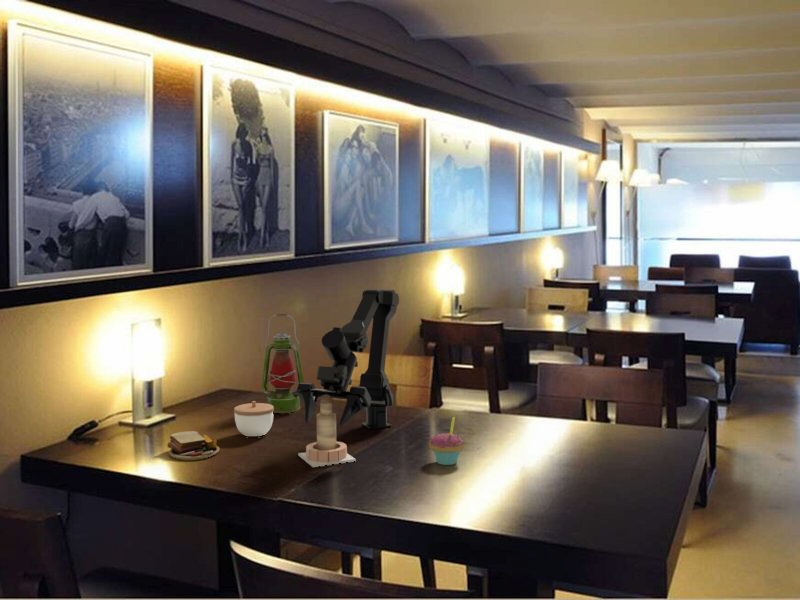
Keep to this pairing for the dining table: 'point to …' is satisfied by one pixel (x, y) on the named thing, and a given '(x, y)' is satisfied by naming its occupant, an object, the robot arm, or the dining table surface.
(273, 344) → the lantern
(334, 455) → the ring
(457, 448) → the cupcake
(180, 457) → the toy sandwich meal
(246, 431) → the lidded jar
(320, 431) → the pepper mill
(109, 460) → the dining table surface
